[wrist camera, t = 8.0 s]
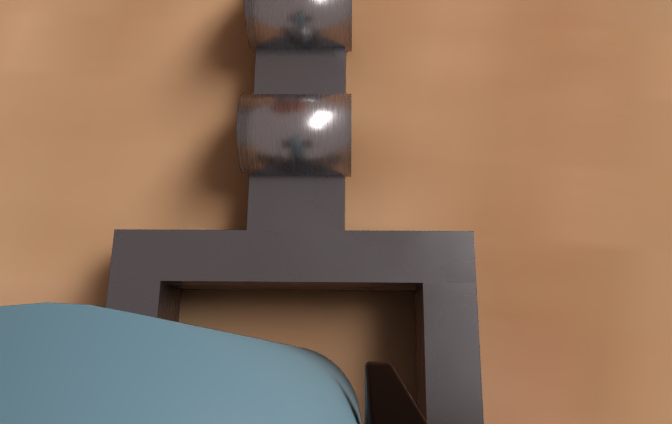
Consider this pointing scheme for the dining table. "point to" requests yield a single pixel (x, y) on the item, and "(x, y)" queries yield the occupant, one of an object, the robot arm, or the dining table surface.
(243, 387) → the pin
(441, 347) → the grey square frame handle
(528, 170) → the dining table surface
